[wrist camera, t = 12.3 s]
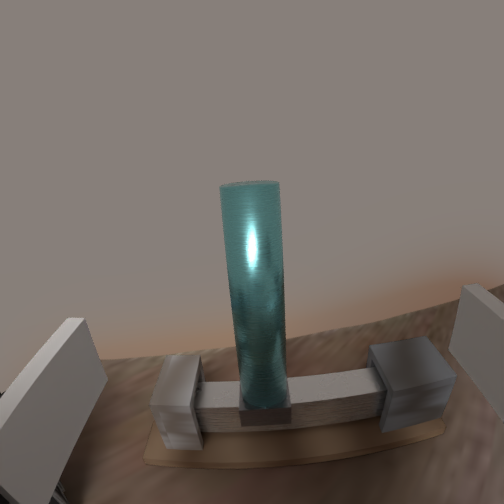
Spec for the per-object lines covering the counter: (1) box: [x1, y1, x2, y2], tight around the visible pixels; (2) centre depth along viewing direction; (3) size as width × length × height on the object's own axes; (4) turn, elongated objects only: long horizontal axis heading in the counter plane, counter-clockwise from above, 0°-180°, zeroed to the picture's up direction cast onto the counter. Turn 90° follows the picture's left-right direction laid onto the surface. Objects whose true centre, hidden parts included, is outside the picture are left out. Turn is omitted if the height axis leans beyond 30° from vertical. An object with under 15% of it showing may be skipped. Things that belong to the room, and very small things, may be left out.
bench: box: [143, 336, 457, 469], centre depth 25 cm, size 26×9×7 cm, turn 90°
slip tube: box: [193, 181, 388, 432], centre depth 22 cm, size 18×4×19 cm, turn 90°
